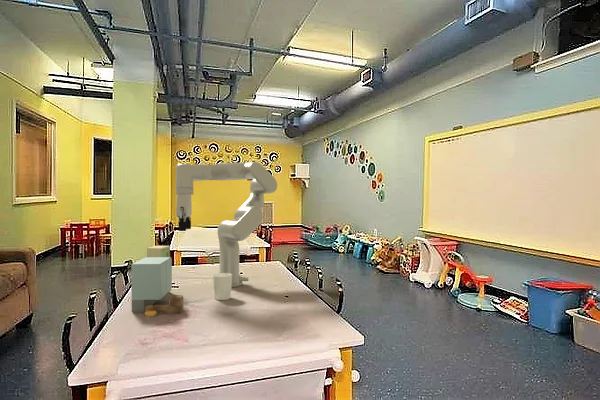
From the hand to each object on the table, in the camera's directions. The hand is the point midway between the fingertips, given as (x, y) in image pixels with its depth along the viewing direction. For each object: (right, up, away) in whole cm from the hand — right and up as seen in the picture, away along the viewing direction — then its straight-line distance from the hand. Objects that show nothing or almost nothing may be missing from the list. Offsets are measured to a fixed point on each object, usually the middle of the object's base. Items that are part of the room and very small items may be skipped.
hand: (184, 229), depth 178 cm
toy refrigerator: (-11, -29, -1) cm, 31 cm away
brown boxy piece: (+1, -29, -29) cm, 41 cm away
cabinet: (-7, -29, -20) cm, 36 cm away
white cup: (+19, -29, -9) cm, 35 cm away
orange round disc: (-3, -29, -32) cm, 43 cm away
